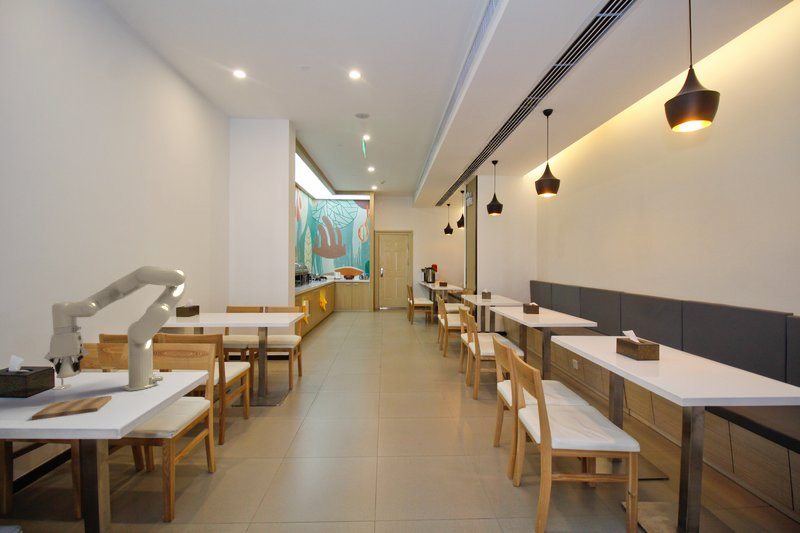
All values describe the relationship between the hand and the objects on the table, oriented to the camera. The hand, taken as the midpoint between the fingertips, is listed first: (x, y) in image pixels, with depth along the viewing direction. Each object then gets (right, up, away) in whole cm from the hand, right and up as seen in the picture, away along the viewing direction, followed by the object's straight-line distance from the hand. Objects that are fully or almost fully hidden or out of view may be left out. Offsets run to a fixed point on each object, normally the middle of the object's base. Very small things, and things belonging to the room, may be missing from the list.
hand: (67, 371), depth 152 cm
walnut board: (+12, -12, -10) cm, 20 cm away
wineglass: (-19, -13, +17) cm, 29 cm away
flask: (0, -2, 0) cm, 2 cm away
